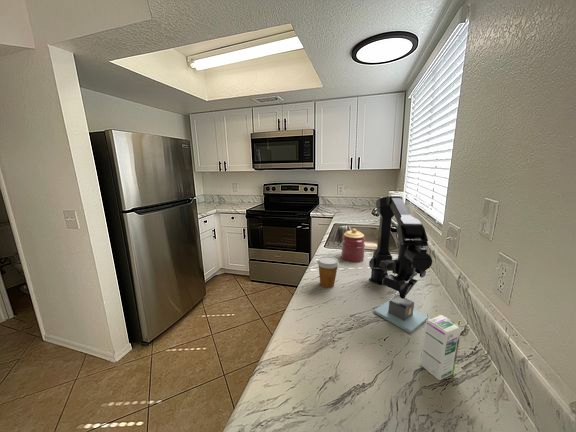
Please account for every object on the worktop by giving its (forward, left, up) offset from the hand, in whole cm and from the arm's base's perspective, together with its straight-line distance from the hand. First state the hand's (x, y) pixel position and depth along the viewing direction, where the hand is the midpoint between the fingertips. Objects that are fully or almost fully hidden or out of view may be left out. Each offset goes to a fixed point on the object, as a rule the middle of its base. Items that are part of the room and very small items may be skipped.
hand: (402, 298), depth 86 cm
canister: (-45, +29, -7) cm, 54 cm away
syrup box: (+18, -14, -7) cm, 24 cm away
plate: (0, 0, -7) cm, 7 cm away
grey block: (0, 0, -6) cm, 6 cm away
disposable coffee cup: (-32, -5, -7) cm, 33 cm away
